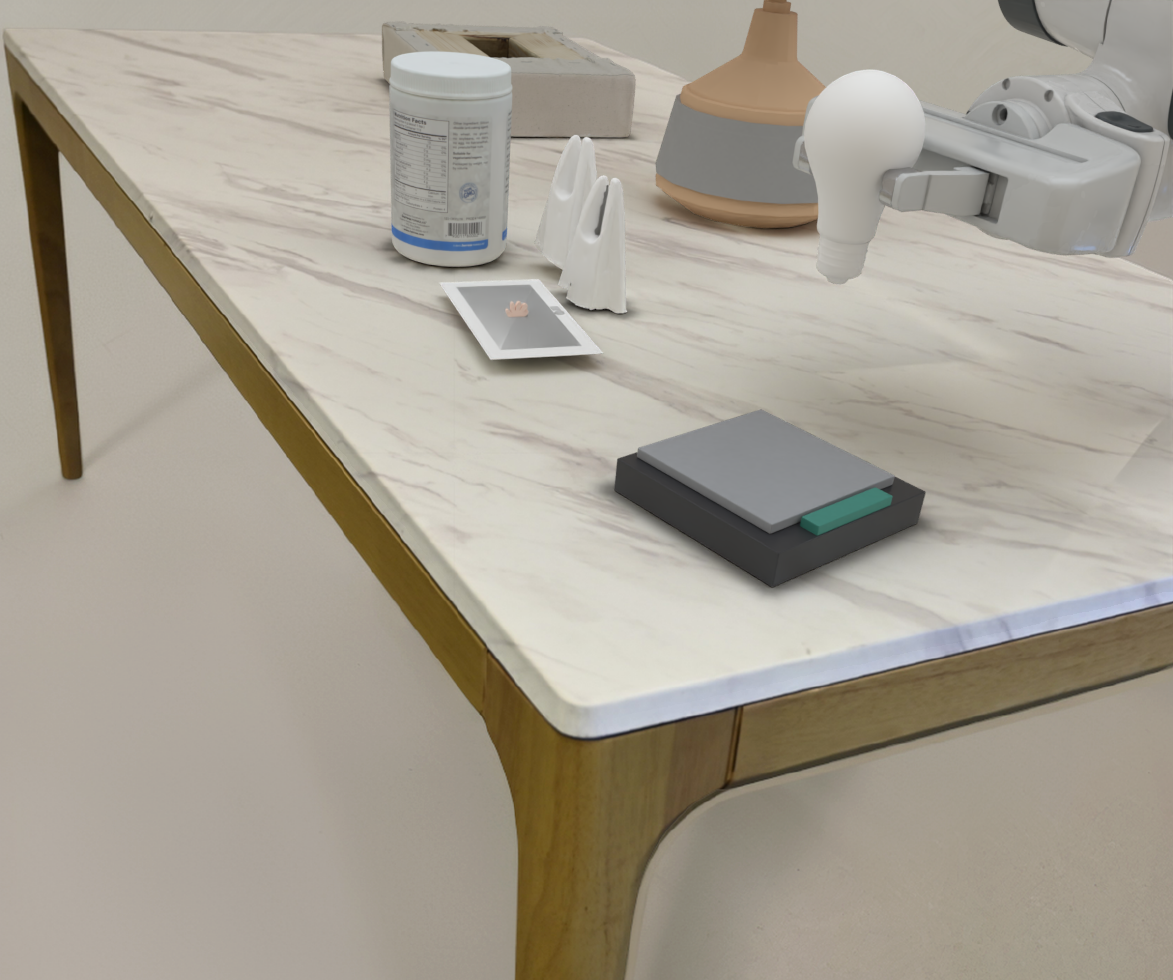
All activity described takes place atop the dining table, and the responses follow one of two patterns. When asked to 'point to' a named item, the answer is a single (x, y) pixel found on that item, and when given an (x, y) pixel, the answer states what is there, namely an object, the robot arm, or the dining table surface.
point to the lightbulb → (858, 161)
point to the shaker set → (585, 230)
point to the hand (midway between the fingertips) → (844, 173)
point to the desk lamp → (744, 132)
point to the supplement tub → (449, 157)
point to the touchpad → (518, 319)
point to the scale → (767, 494)
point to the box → (534, 75)
